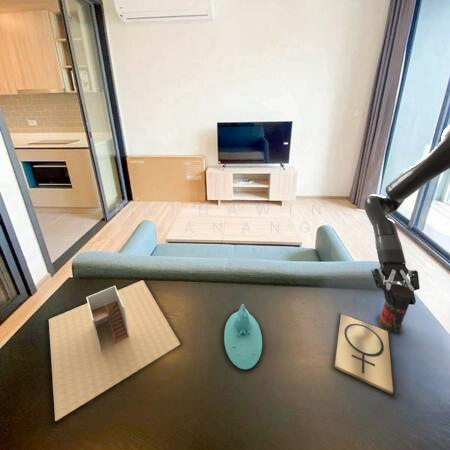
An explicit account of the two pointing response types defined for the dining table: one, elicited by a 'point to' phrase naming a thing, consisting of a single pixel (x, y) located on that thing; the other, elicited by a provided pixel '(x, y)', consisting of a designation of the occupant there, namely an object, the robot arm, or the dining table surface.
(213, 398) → the dining table surface
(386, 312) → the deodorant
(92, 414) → the dining table surface
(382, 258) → the robot arm
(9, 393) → the dining table surface
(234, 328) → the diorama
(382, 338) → the sketch board
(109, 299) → the staircase
